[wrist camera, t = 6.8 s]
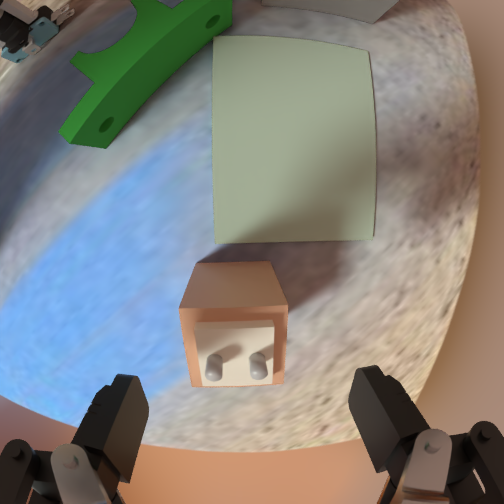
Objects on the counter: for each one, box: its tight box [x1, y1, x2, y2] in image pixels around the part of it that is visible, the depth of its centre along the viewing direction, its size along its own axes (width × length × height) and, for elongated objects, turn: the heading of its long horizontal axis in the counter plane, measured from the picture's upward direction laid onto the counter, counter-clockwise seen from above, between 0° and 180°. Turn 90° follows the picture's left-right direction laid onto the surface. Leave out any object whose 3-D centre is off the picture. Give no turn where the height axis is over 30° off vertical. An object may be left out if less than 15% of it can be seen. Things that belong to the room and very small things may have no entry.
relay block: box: [179, 261, 288, 387], centre depth 14 cm, size 4×4×8 cm
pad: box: [212, 36, 376, 244], centre depth 15 cm, size 10×13×1 cm
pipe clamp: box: [58, 0, 232, 149], centre depth 11 cm, size 11×4×5 cm, turn 136°
